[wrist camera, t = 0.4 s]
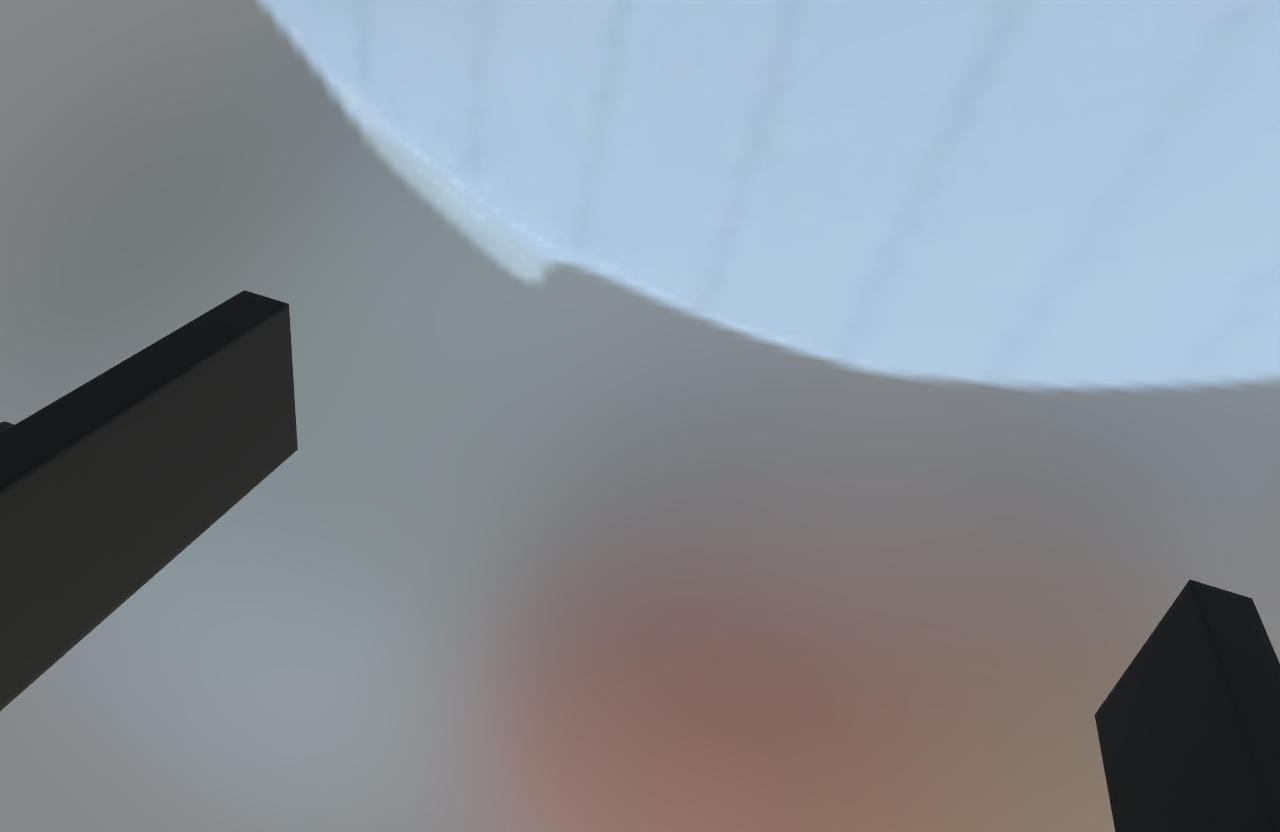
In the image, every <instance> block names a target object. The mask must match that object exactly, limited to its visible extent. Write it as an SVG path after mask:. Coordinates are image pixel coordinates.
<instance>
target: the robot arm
mask: <svg viewBox="0 0 1280 832" xmlns="http://www.w3.org/2000/svg"><path fill="white" fill-rule="evenodd" d="M296 433H297V432H296V415H295V400H294V382H293V366H292V349H291V333H290V317H289V304H287V303H284V302H281V301H277V300H274V299H270V298H268V297H264V296H261V295H258V294H255V293H251V292H248V291H245V290H244V291H242V292H241V293H239V294H237V295H236V296H234V297H232V298H230V299H229V300H227V301H225V302H224V303H222V304H220V305H218V306H217V307H215V308H214V309H212V310H210V311H208V312H207V313H205V314H203V315H201V316H200V317H198V318H196V319H195V320H193V321H191V322H189V323H188V324H186V325H184V326H183V327H181V328H180V329H178V330H176V331H174V332H172V333H171V334H169V335H167V336H166V337H164V338H162V339H161V340H159V341H157V342H156V343H154V344H152V345H150V346H149V347H147V348H145V349H143V350H142V351H140V352H138V353H137V354H135V355H133V356H132V357H130V358H128V359H126V360H125V361H123V362H121V363H120V364H118V365H116V366H114V367H113V368H111V369H109V370H108V371H106V372H104V373H103V374H101V375H99V376H97V377H96V378H94V379H92V380H91V381H89V382H87V383H86V384H84V385H82V386H80V387H79V388H77V389H75V390H74V391H72V392H70V393H68V394H67V395H65V396H63V397H62V398H60V399H58V400H57V401H55V402H53V403H52V404H50V405H48V406H46V407H45V408H43V409H41V410H39V411H38V412H36V413H34V414H33V415H31V416H30V417H28V418H26V419H24V420H23V421H21V422H19V423H17V424H16V425H13V424H11V423H8V422H1V423H0V711H1V710H2V709H3V708H4V707H5V706H7V705H8V704H9V703H10V702H11V701H12V700H13V699H14V698H16V697H17V696H18V695H19V694H20V693H21V692H22V691H24V690H25V689H26V688H27V687H28V686H29V685H30V684H32V683H33V682H34V681H35V680H36V679H37V678H38V677H40V675H42V674H43V673H44V672H45V671H46V670H47V669H49V668H50V667H51V666H52V665H53V664H54V663H55V662H57V661H58V660H59V659H60V658H61V657H62V656H63V655H64V654H66V653H67V652H68V651H69V650H70V649H71V648H72V647H74V646H75V645H76V644H77V643H78V642H79V641H80V640H82V639H83V638H84V637H85V636H86V635H87V634H88V633H89V632H91V631H92V630H93V629H94V628H95V627H96V626H97V625H99V624H100V623H101V622H102V621H103V620H104V619H105V618H107V617H108V616H109V615H110V614H111V613H112V612H113V611H115V610H116V609H117V608H118V607H119V606H120V605H121V604H122V603H124V602H125V601H126V600H127V599H128V598H129V597H130V596H132V595H133V594H134V593H135V592H136V591H137V590H138V589H139V588H141V587H142V586H143V585H144V584H145V583H146V582H148V581H149V580H150V579H151V578H152V577H153V576H154V575H155V574H157V573H158V572H159V571H160V570H161V569H162V568H163V567H165V566H166V565H167V564H168V563H169V562H170V561H171V560H172V559H174V558H175V557H176V556H177V555H178V554H179V553H180V552H182V551H183V550H184V549H185V548H186V547H187V546H188V545H190V544H191V543H192V542H193V541H194V540H195V539H196V538H198V537H199V536H200V535H201V534H202V533H203V532H204V531H205V530H207V529H208V528H209V527H210V526H211V525H212V524H213V523H215V521H217V520H218V519H219V518H220V517H221V516H223V515H224V514H225V513H226V512H227V511H228V510H229V509H230V508H231V507H233V506H234V505H235V504H236V503H237V502H238V501H239V500H241V499H242V498H243V497H244V496H245V495H246V494H247V493H249V492H250V491H251V490H252V489H253V488H254V487H255V486H256V485H258V484H259V483H260V482H261V481H262V480H263V479H265V478H266V477H267V476H268V475H269V474H270V473H271V472H273V471H274V470H275V469H276V468H277V467H278V466H279V465H280V464H282V463H283V462H284V461H285V460H286V459H287V458H288V457H290V456H291V455H292V454H293V453H294V452H295V451H296V450H298V449H297V434H296ZM1095 719H1096V724H1097V730H1098V736H1099V742H1100V747H1101V753H1102V759H1103V764H1104V770H1105V776H1106V781H1107V787H1108V792H1109V798H1110V804H1111V809H1112V815H1113V820H1114V826H1115V832H1280V663H1279V661H1278V659H1277V656H1276V654H1275V652H1274V650H1273V647H1272V645H1271V642H1270V640H1269V638H1268V636H1267V633H1266V631H1265V628H1264V626H1263V623H1262V621H1261V619H1260V616H1259V614H1258V612H1257V609H1256V607H1255V605H1254V602H1253V600H1252V598H1248V597H1245V596H1242V595H1239V594H1235V593H1232V592H1229V591H1225V590H1222V589H1219V588H1216V587H1212V586H1209V585H1206V584H1202V583H1199V582H1196V581H1193V580H1189V582H1188V583H1187V584H1186V586H1185V587H1184V589H1183V590H1182V591H1181V593H1180V594H1179V596H1178V597H1177V599H1176V600H1175V602H1174V603H1173V604H1172V606H1171V607H1170V608H1169V610H1168V611H1167V613H1166V614H1165V616H1164V617H1163V618H1162V620H1161V621H1160V623H1159V624H1158V626H1157V627H1156V628H1155V630H1154V632H1153V633H1152V634H1151V636H1150V637H1149V638H1148V640H1147V641H1146V643H1145V644H1144V646H1143V647H1142V648H1141V650H1140V651H1139V653H1138V654H1137V655H1136V657H1135V658H1134V660H1133V661H1132V663H1131V664H1130V665H1129V667H1128V668H1127V670H1126V671H1125V673H1124V674H1123V675H1122V677H1121V678H1120V680H1119V681H1118V683H1117V684H1116V685H1115V687H1114V688H1113V690H1112V691H1111V693H1110V694H1109V695H1108V697H1107V698H1106V700H1105V701H1104V703H1103V704H1102V705H1101V707H1100V708H1099V710H1098V711H1097V713H1096V714H1095Z"/></svg>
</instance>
